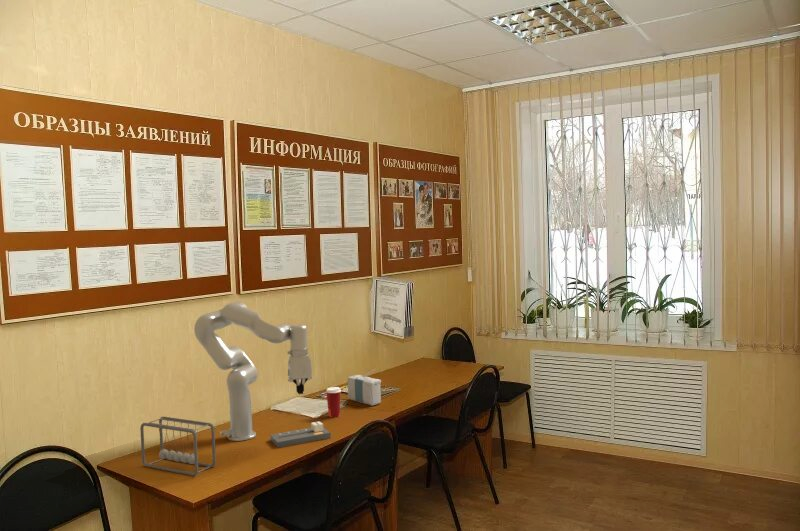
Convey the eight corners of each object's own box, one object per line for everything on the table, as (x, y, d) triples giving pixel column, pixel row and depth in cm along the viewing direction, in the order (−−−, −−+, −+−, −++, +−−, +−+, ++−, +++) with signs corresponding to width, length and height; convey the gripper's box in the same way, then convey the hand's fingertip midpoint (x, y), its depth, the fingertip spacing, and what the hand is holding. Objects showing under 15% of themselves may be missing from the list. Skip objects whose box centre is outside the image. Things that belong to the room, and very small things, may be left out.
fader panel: (277, 447, 263) (277, 441, 263) (270, 440, 273) (270, 434, 273) (330, 438, 274) (330, 432, 273) (321, 431, 284) (321, 425, 284)
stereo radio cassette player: (347, 400, 339) (346, 364, 338) (359, 397, 344) (358, 362, 343) (371, 407, 323) (369, 369, 322) (383, 404, 328) (381, 367, 328)
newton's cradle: (141, 466, 246) (139, 422, 245) (162, 457, 255) (160, 415, 255) (196, 477, 232) (194, 431, 232) (216, 467, 242) (214, 423, 241)
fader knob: (315, 432, 274) (314, 425, 274) (311, 429, 278) (311, 422, 278) (323, 430, 276) (323, 423, 276) (319, 427, 280) (319, 421, 280)
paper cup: (345, 414, 310) (344, 387, 309) (335, 419, 303) (334, 391, 303) (332, 413, 314) (331, 386, 313) (323, 417, 307) (322, 389, 307)
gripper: (285, 355, 266) (286, 397, 266) (318, 352, 272) (319, 393, 273) (280, 353, 272) (281, 393, 273) (312, 349, 279) (313, 389, 280)
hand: (300, 393), depth 273 cm, fingers closed
